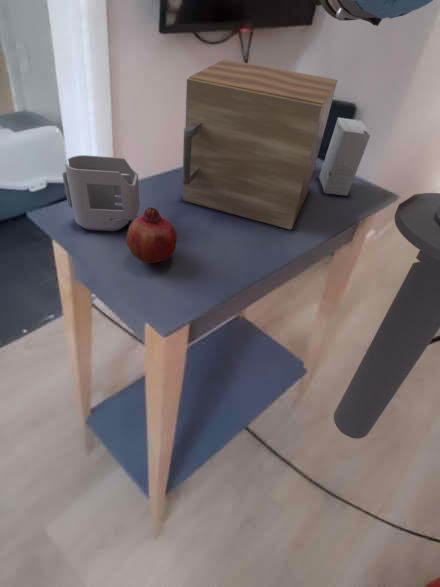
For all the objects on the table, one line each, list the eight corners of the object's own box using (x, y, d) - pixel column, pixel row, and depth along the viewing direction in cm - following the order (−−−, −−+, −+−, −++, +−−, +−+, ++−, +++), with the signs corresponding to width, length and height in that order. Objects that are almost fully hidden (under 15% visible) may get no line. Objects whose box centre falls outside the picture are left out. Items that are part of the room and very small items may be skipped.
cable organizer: (137, 235, 72) (133, 173, 64) (68, 231, 71) (55, 168, 63) (141, 216, 77) (138, 156, 69) (76, 212, 76) (66, 151, 68)
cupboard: (292, 227, 79) (323, 103, 63) (185, 199, 84) (189, 76, 68) (308, 190, 92) (337, 79, 76) (215, 167, 97) (224, 58, 81)
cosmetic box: (318, 178, 97) (335, 116, 87) (342, 180, 98) (361, 119, 88) (324, 194, 91) (343, 129, 81) (349, 197, 91) (372, 132, 82)
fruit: (161, 241, 71) (160, 191, 65) (185, 264, 67) (187, 213, 60) (120, 254, 67) (115, 202, 61) (143, 280, 63) (140, 227, 56)
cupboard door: (285, 243, 74) (316, 115, 59) (172, 211, 79) (173, 85, 64) (292, 227, 79) (322, 104, 63) (184, 198, 84) (188, 77, 68)
